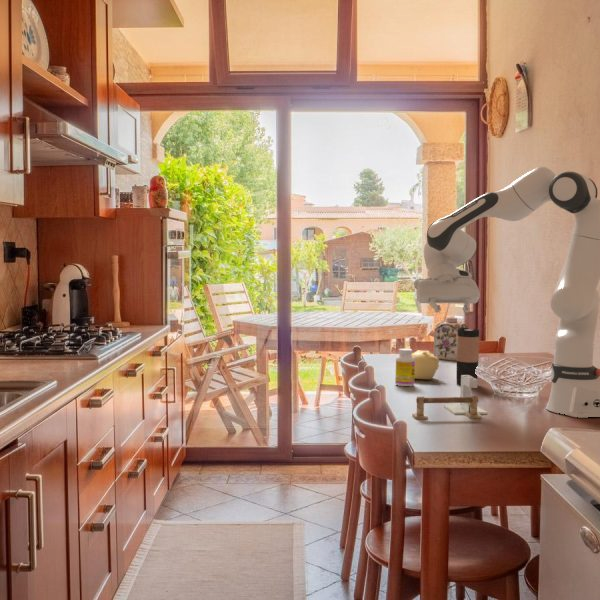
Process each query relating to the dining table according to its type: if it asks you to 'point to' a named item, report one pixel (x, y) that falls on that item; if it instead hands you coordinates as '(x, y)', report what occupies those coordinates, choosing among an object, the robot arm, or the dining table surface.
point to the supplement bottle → (405, 368)
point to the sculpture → (425, 364)
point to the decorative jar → (447, 338)
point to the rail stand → (472, 400)
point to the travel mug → (467, 352)
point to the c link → (467, 390)
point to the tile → (457, 410)
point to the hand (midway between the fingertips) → (452, 311)
